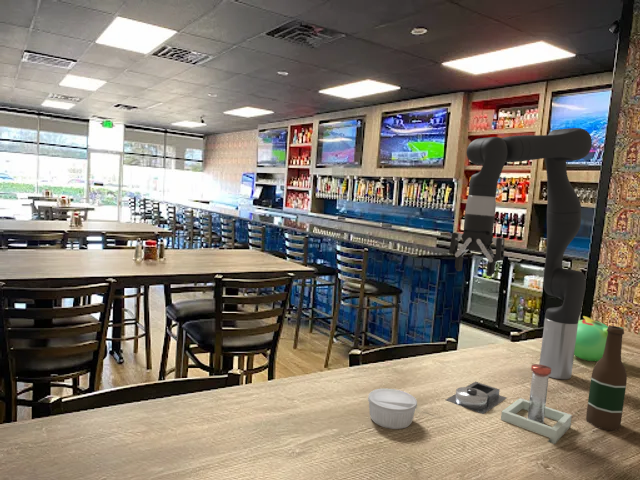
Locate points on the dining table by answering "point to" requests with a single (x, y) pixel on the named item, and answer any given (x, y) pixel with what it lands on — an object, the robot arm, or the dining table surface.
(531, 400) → the lock pin
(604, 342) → the green rounded piece
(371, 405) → the ramekin
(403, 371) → the dining table surface
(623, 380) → the beer bottle
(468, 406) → the grey piece
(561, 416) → the rectangular frame
